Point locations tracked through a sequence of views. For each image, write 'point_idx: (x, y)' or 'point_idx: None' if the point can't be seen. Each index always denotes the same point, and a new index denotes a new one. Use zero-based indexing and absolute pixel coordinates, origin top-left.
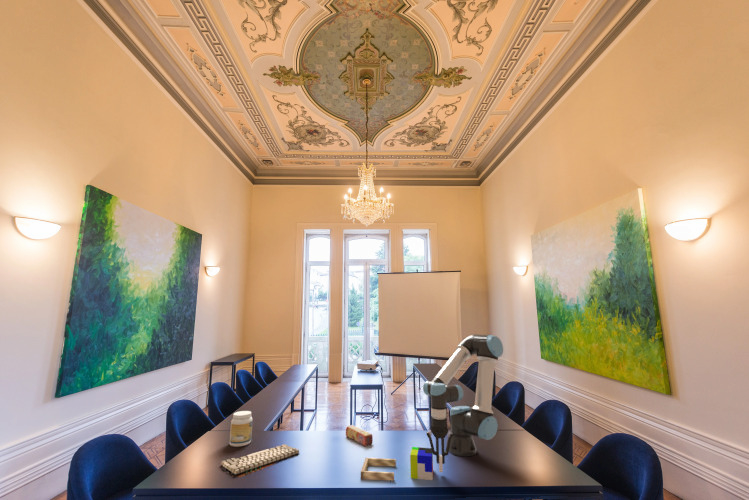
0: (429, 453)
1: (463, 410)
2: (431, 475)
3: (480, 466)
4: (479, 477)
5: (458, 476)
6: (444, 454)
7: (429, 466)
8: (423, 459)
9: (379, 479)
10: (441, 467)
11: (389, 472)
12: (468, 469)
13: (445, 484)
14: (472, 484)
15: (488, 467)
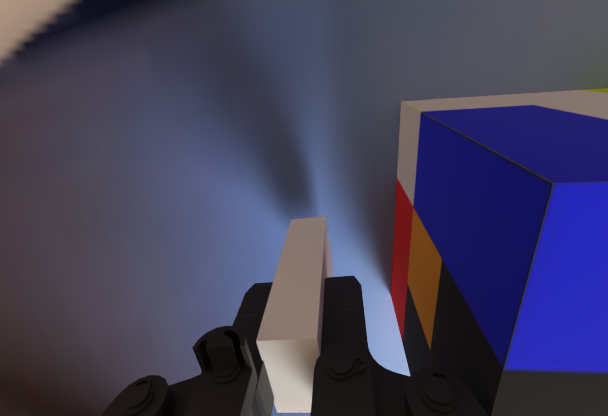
0: (578, 370)
1: None
2: (421, 105)
3: (67, 394)
4: (12, 252)
5: (165, 236)
6: (196, 388)
7: (492, 121)
8: None
9: None
10: (297, 243)
11: None
12: (124, 350)
13: (251, 33)
14: (11, 113)
15: (19, 388)
